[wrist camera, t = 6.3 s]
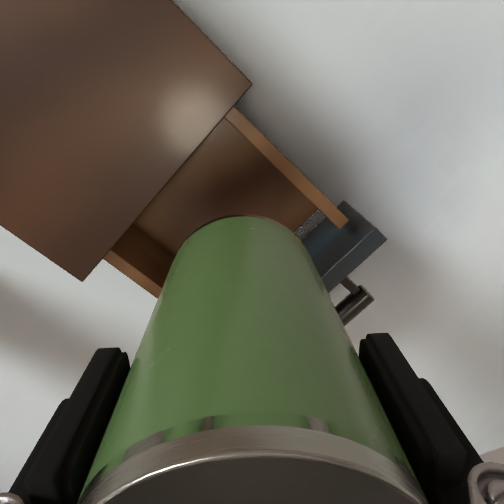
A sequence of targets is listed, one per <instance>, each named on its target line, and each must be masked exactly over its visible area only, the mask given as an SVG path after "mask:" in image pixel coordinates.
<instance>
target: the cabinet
mask: <svg viewBox="0 0 504 504" xmlns="http://www.w3.org/2000/svg"><path fill="white" fill-rule="evenodd" d="M251 86H252V83H251V82H250V81H249V80H248V79H247V78H246V76H245V75H244V74H243V73H242V72H241V71H240V70H239V69H238V68H237V67H236V66H235V65H234V64H233V63H232V62H231V61H230V60H229V59H228V58H227V57H226V56H225V55H224V54H223V53H222V52H221V51H220V50H219V49H218V48H217V46H216V45H215V44H214V43H213V42H212V41H211V40H210V39H209V38H208V37H207V36H206V35H205V34H204V33H203V32H202V31H201V30H200V29H199V28H198V27H197V26H196V25H195V24H194V23H193V22H192V21H191V20H190V19H189V18H188V16H187V15H186V14H185V13H184V12H183V11H182V10H181V9H180V8H179V7H178V6H177V5H176V4H175V3H174V2H173V1H172V0H0V225H1V226H2V227H4V228H5V229H6V230H8V231H9V232H11V233H12V234H14V235H15V236H17V237H18V238H19V239H21V240H22V241H24V242H25V243H27V244H28V245H29V246H31V247H32V248H34V249H35V250H37V251H38V252H40V253H41V254H42V255H44V256H45V257H47V258H48V259H50V260H51V261H53V262H54V263H55V264H57V265H58V266H60V267H61V268H63V269H64V270H66V271H67V272H68V273H70V274H71V275H73V276H74V277H76V278H77V279H78V280H80V281H81V282H83V281H84V280H85V279H86V277H87V276H88V275H89V274H90V273H91V272H92V270H93V269H94V268H95V267H96V266H97V265H98V264H99V262H100V261H101V260H102V259H103V258H104V257H105V255H106V254H107V253H108V252H109V251H110V250H111V248H112V247H113V246H114V245H115V244H116V243H117V241H118V240H119V239H120V238H121V237H122V236H123V234H124V233H125V232H126V231H127V230H128V229H129V227H130V226H131V225H132V224H133V223H134V222H135V220H136V219H137V218H138V217H139V216H140V215H141V214H142V212H143V211H144V210H145V209H146V208H147V207H148V205H149V204H150V203H151V202H152V201H153V200H154V198H155V197H156V196H157V195H158V194H159V193H160V191H161V190H162V189H163V188H164V187H165V186H166V184H167V183H168V182H169V181H170V180H171V179H172V177H173V176H174V175H175V174H176V173H177V172H178V171H179V169H180V168H181V167H182V166H183V165H184V164H185V162H186V161H187V160H188V159H189V158H190V157H191V155H192V154H193V153H194V152H195V151H196V150H197V148H198V147H199V146H200V145H201V144H202V143H203V141H204V140H205V139H206V138H207V137H208V136H209V134H210V133H211V132H212V131H213V130H214V129H215V128H216V126H217V125H218V124H219V123H220V122H221V121H222V119H223V118H224V117H225V116H226V115H227V114H228V112H229V111H230V110H231V109H232V108H233V107H234V105H235V104H236V103H237V102H238V101H239V100H240V98H241V97H242V96H243V95H244V94H245V93H246V91H247V90H248V89H249V88H250V87H251Z"/></svg>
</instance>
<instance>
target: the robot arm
mask: <svg viewBox="0 0 504 504" xmlns="http://www.w3.org/2000/svg"><path fill="white" fill-rule="evenodd" d="M359 359H360V361H361V363H362V365H363V367H364V369H365V371H366V373H367V376H368V378H369V380H370V382H371V384H372V386H373V388H374V390H375V392H376V394H377V396H378V399H379V401H380V403H381V405H382V407H383V409H384V411H385V413H386V415H387V417H388V420H389V422H390V424H391V426H392V428H393V430H394V432H395V434H396V436H397V438H398V440H399V443H400V445H401V447H402V449H403V451H404V453H405V455H406V457H407V459H408V461H409V463H410V466H411V468H412V470H413V472H414V474H415V476H416V478H417V480H418V482H419V484H420V486H421V489H422V491H423V493H424V495H425V497H426V499H427V501H428V503H429V504H504V464H500V463H494V462H486V463H484V462H483V461H482V459H481V458H480V456H479V455H478V453H477V452H476V450H475V449H474V448H473V446H472V445H471V443H470V442H469V440H468V439H467V437H466V436H465V434H464V433H463V431H462V430H461V429H460V427H459V426H458V424H457V423H456V421H455V420H454V418H453V417H452V415H451V414H450V413H449V411H448V410H447V408H446V407H445V405H444V404H443V402H442V401H441V399H440V398H439V396H438V395H437V394H436V392H435V391H434V389H433V388H432V386H431V385H430V384H429V382H428V381H427V380H425V379H424V378H418V377H417V375H416V374H415V372H414V371H413V369H412V368H411V366H410V365H409V363H408V362H407V360H406V359H405V357H404V356H403V354H402V353H401V351H400V350H399V348H398V346H397V345H396V343H395V342H394V340H393V339H392V337H391V336H390V335H389V333H373V334H367V336H366V339H361V341H360V347H359ZM129 371H130V364H129V359H128V355H127V353H126V352H121V350H120V348H118V347H117V348H99V349H97V350H96V352H95V354H94V355H93V357H92V359H91V361H90V362H89V364H88V366H87V368H86V370H85V371H84V373H83V375H82V377H81V379H80V380H79V382H78V384H77V386H76V387H75V389H74V391H73V393H72V395H71V396H70V398H69V399H65V400H63V401H62V402H61V403H60V405H59V406H58V408H57V410H56V411H55V413H54V415H53V416H52V418H51V420H50V422H49V423H48V425H47V427H46V429H45V430H44V432H43V434H42V435H41V437H40V439H39V441H38V442H37V444H36V446H35V447H34V449H33V451H32V453H31V454H30V456H29V458H28V459H27V461H26V463H25V465H24V466H23V468H22V470H21V471H20V473H19V475H18V477H17V478H16V480H15V482H14V483H13V485H12V487H11V489H10V490H9V492H8V493H0V504H77V503H78V500H79V497H80V495H81V492H82V490H83V487H84V485H85V482H86V480H87V477H88V475H89V472H90V470H91V467H92V465H93V462H94V460H95V457H96V455H97V452H98V449H99V447H100V444H101V442H102V439H103V437H104V434H105V432H106V429H107V427H108V424H109V422H110V419H111V417H112V414H113V412H114V409H115V407H116V404H117V401H118V399H119V396H120V394H121V391H122V389H123V386H124V384H125V381H126V379H127V376H128V374H129Z"/></svg>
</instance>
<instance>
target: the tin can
mask: <svg viewBox="0 0 504 504" xmlns="http://www.w3.org/2000/svg"><path fill="white" fill-rule="evenodd" d="M77 504H429V503H428V501H427V499H426V497H425V495H424V493H423V491H422V489H421V486H420V484H419V482H418V480H417V478H416V476H415V474H414V472H413V470H412V468H411V466H410V463H409V461H408V459H407V457H406V455H405V453H404V451H403V449H402V447H401V445H400V443H399V440H398V438H397V436H396V434H395V432H394V430H393V428H392V426H391V424H390V422H389V420H388V417H387V415H386V413H385V411H384V409H383V407H382V405H381V403H380V401H379V399H378V396H377V394H376V392H375V390H374V388H373V386H372V384H371V382H370V380H369V378H368V376H367V373H366V371H365V369H364V367H363V365H362V363H361V361H360V359H359V357H358V355H357V353H356V350H355V348H354V346H353V344H352V342H351V340H350V338H349V336H348V334H347V332H346V330H345V327H344V325H343V323H342V321H341V319H340V317H339V315H338V313H337V311H336V309H335V307H334V304H333V302H332V300H331V298H330V296H329V294H328V292H327V290H326V288H325V286H324V284H323V281H322V279H321V277H320V275H319V273H318V271H317V269H316V267H315V265H314V263H313V261H312V258H311V256H310V254H309V252H308V250H307V249H306V247H305V245H304V244H303V242H302V241H301V240H300V239H299V237H298V236H297V235H295V234H294V233H293V232H292V231H291V230H290V229H288V228H287V227H286V226H284V225H283V224H281V223H279V222H277V221H275V220H272V219H270V218H267V217H263V216H259V215H253V214H233V215H227V216H223V217H219V218H216V219H214V220H211V221H209V222H207V223H205V224H204V225H202V226H200V227H199V228H197V229H196V230H195V231H194V232H192V233H191V234H190V235H189V236H188V237H187V238H186V239H185V241H184V242H183V243H182V245H181V246H180V248H179V249H178V251H177V253H176V255H175V257H174V260H173V263H172V265H171V268H170V270H169V273H168V275H167V278H166V280H165V283H164V285H163V288H162V290H161V293H160V295H159V298H158V300H157V303H156V305H155V308H154V311H153V313H152V316H151V318H150V321H149V323H148V326H147V328H146V331H145V333H144V336H143V338H142V341H141V343H140V346H139V348H138V351H137V353H136V356H135V359H134V361H133V364H132V366H131V369H130V371H129V374H128V376H127V379H126V381H125V384H124V386H123V389H122V391H121V394H120V396H119V399H118V401H117V404H116V407H115V409H114V412H113V414H112V417H111V419H110V422H109V424H108V427H107V429H106V432H105V434H104V437H103V439H102V442H101V444H100V447H99V449H98V452H97V455H96V457H95V460H94V462H93V465H92V467H91V470H90V472H89V475H88V477H87V480H86V482H85V485H84V487H83V490H82V492H81V495H80V497H79V500H78V503H77Z"/></svg>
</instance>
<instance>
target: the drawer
mask: <svg viewBox="0 0 504 504" xmlns="http://www.w3.org/2000/svg"><path fill="white" fill-rule="evenodd" d="M317 209H319V210H320V211H321V212H322V213H323V214H324V215H325V216H327V217H326V218H325V219H324V220H323V221H322V222H321V223H320V224H319V225H318V226H317V227H316V228H315V229H314V230H313V231H312V232H311V233H310V234H309V235H308V236H307V237H306V238H305V239H304V240H303V241H302V242H303V244H304V245H305V247H306V249H307V250H308V252H309V254H310V256H311V258H312V261H313V263H314V265H315V267H316V269H317V271H318V273H319V275H320V277H321V279H322V281H323V284H324V286H325V288H326V290H327V292H328V293H329V292H330V291H331V290H332V289H333V288H334V287H335V286H337V285H338V284H339V283H341V284H342V285H343V286H344V287H345V288H347V289H348V290H349V291H350V292H351V293H350V294H349V295H348V296H347V297H346V298H345V299H343V300H342V301H341V302H340V303H339V304H338V305H337V306H336V307H335V309H336V311H337V313H338V315H339V317H340V319H341V321H342V323H343V325H344V326H345V325H346V324H348V323H349V322H350V321H351V320H352V319H353V318H354V317H356V316H357V315H358V314H359V313H360V312H361V311H363V310H364V309H365V308H366V307H367V306H368V305H369V304H371V303H372V302H373V301H374V298H373V297H372V295H371V294H370V293H369V292H368V291H367V290H366V289H365V288H364V287H363V286H362V285H359V286H357V285H356V284H355V283H353V282H352V281H351V280H350V279H349V278H348V277H347V276H348V275H349V274H350V273H351V272H352V271H353V270H354V269H355V268H356V267H357V266H359V265H360V264H361V263H362V262H363V261H364V260H365V259H366V258H367V257H368V256H370V255H371V254H372V253H373V252H374V251H375V250H376V249H377V248H378V247H379V246H381V245H382V244H383V243H384V242H385V241H386V240H387V238H386V237H385V236H384V235H383V234H382V233H381V232H380V231H379V230H378V229H377V228H376V227H375V226H373V225H372V224H371V223H370V222H369V221H368V220H366V219H365V218H364V217H363V216H362V215H361V214H359V213H358V212H357V211H356V210H355V209H354V208H352V207H351V206H350V205H349V204H348V203H347V202H346V201H343V202H342V203H341V204H340V205H339V206H338V207H336V206H335V205H334V204H333V203H332V202H331V201H330V200H329V199H328V198H327V197H325V196H324V195H323V194H322V193H321V192H320V191H319V190H318V189H317V188H316V187H315V186H314V185H313V184H312V183H311V182H310V181H309V180H308V179H307V178H306V177H305V176H304V175H303V174H302V173H301V172H300V171H299V170H298V169H297V168H296V167H295V166H294V165H293V164H292V163H291V162H290V161H289V160H288V159H287V158H286V157H285V156H284V155H283V154H282V153H281V152H280V151H279V150H278V149H277V148H276V147H275V146H274V145H273V144H272V143H271V142H270V141H269V140H268V139H267V138H266V137H265V136H264V135H263V134H262V133H261V132H260V131H259V130H258V129H257V128H256V127H255V126H254V125H253V124H252V123H251V122H250V121H249V120H248V119H247V118H246V117H245V116H244V115H243V114H242V113H241V112H240V111H239V110H238V109H237V108H236V107H235V106H234V107H233V108H232V109H231V110H230V111H229V112H228V114H227V115H226V116H225V117H224V118H223V119H222V121H221V122H220V123H219V124H218V125H217V126H216V128H215V129H214V130H213V131H212V132H211V133H210V134H209V136H208V137H207V138H206V139H205V140H204V141H203V143H202V144H201V145H200V146H199V147H198V148H197V150H196V151H195V152H194V153H193V154H192V155H191V157H190V158H189V159H188V160H187V161H186V162H185V164H184V165H183V166H182V167H181V168H180V169H179V171H178V172H177V173H176V174H175V175H174V176H173V177H172V179H171V180H170V181H169V182H168V183H167V184H166V186H165V187H164V188H163V189H162V190H161V191H160V193H159V194H158V195H157V196H156V197H155V198H154V200H153V201H152V202H151V203H150V204H149V205H148V207H147V208H146V209H145V210H144V211H143V212H142V214H141V215H140V216H139V217H138V218H137V219H136V220H135V222H134V223H133V224H132V225H131V226H130V227H129V229H128V230H127V231H126V232H125V233H124V234H123V236H122V237H121V238H120V239H119V240H118V241H117V243H116V244H115V245H114V246H113V247H112V248H111V250H110V251H109V252H108V253H107V254H106V255H105V257H104V258H103V259H104V260H106V261H107V262H108V263H110V264H111V265H112V266H114V267H115V268H116V269H118V270H119V271H121V272H122V273H123V274H125V275H126V276H127V277H129V278H130V279H132V280H133V281H134V282H136V283H137V284H138V285H140V286H141V287H143V288H144V289H145V290H147V291H148V292H149V293H151V294H152V295H154V296H155V297H156V298H159V295H160V293H161V290H162V288H163V285H164V283H165V280H166V278H167V275H168V273H169V270H170V268H171V265H172V263H173V260H174V257H175V255H176V253H177V251H178V249H179V248H180V246H181V245H182V243H183V242H184V241H185V239H186V238H187V237H188V236H189V235H190V234H191V233H192V232H194V231H195V230H196V229H197V228H199V227H200V226H202V225H204V224H205V223H207V222H209V221H211V220H214V219H216V218H219V217H223V216H227V215H233V214H253V215H259V216H263V217H267V218H270V219H272V220H275V221H277V222H279V223H281V224H283V225H284V226H286V227H287V228H288V229H290V230H291V231H292V232H293V233H294V232H295V231H296V230H297V229H298V228H299V227H300V226H301V225H302V224H303V223H304V222H305V221H306V220H307V219H308V218H309V217H310V216H311V215H312V214H313V213H314V212H315V211H316V210H317Z"/></svg>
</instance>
